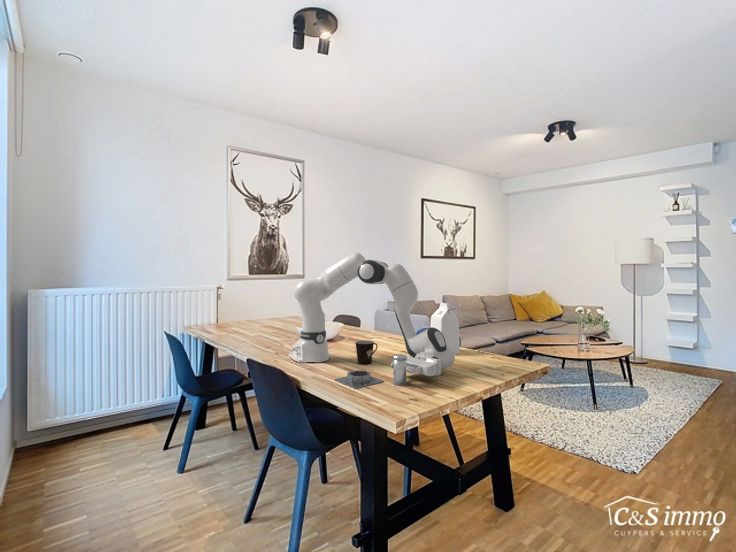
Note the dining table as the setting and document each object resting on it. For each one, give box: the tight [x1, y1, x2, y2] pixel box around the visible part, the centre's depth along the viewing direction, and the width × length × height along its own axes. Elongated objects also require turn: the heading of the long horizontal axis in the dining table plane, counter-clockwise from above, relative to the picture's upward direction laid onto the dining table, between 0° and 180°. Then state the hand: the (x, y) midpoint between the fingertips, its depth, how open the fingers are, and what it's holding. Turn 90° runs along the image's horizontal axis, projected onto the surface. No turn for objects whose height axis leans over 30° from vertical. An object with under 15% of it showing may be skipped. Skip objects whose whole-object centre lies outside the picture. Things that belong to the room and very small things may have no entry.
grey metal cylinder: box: [392, 353, 408, 387], centre depth 150 cm, size 5×5×11 cm
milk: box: [429, 302, 461, 355], centre depth 206 cm, size 12×12×26 cm
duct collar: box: [333, 369, 385, 390], centre depth 154 cm, size 14×14×3 cm
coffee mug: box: [354, 339, 379, 366], centre depth 183 cm, size 12×9×10 cm
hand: (400, 368), depth 151 cm, fingers open, 8 cm apart
